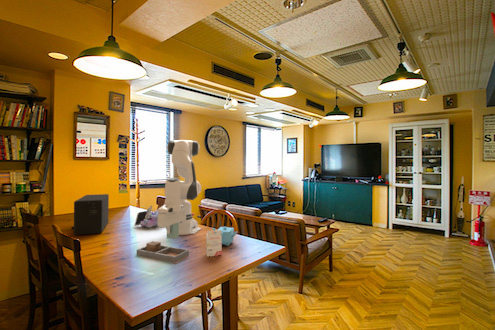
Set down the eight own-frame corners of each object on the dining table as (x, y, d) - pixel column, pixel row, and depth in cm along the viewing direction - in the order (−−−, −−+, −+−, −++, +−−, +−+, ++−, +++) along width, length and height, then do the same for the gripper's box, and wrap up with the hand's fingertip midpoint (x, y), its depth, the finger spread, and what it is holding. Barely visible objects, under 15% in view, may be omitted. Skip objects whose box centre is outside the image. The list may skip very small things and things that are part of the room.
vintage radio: (82, 224, 212) (82, 194, 212) (108, 222, 219) (109, 193, 219) (69, 236, 177) (70, 201, 177) (101, 234, 184) (101, 200, 184)
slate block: (172, 236, 144) (172, 222, 144) (178, 237, 142) (178, 222, 142) (166, 238, 140) (166, 223, 140) (173, 239, 138) (173, 224, 138)
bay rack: (152, 249, 155) (152, 243, 154) (188, 256, 144) (188, 250, 144) (136, 255, 143) (136, 249, 143) (175, 263, 133) (175, 257, 133)
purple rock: (171, 220, 210) (165, 201, 215) (149, 224, 192) (142, 203, 197) (157, 230, 219) (151, 211, 224) (135, 234, 201) (129, 214, 206)
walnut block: (152, 251, 150) (152, 241, 150) (160, 252, 147) (160, 242, 147) (146, 253, 145) (146, 243, 145) (154, 255, 143) (154, 245, 143)
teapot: (234, 248, 157) (234, 230, 157) (206, 246, 161) (206, 228, 161) (239, 241, 173) (240, 224, 173) (214, 239, 176) (215, 223, 176)
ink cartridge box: (220, 252, 150) (220, 227, 150) (221, 255, 146) (222, 230, 145) (205, 253, 148) (206, 228, 148) (206, 256, 143) (207, 231, 143)
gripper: (180, 204, 152) (179, 227, 152) (155, 209, 133) (155, 236, 133) (188, 204, 149) (188, 228, 149) (165, 210, 130) (164, 237, 130)
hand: (172, 232), depth 141 cm, fingers closed on slate block, 4 cm apart
